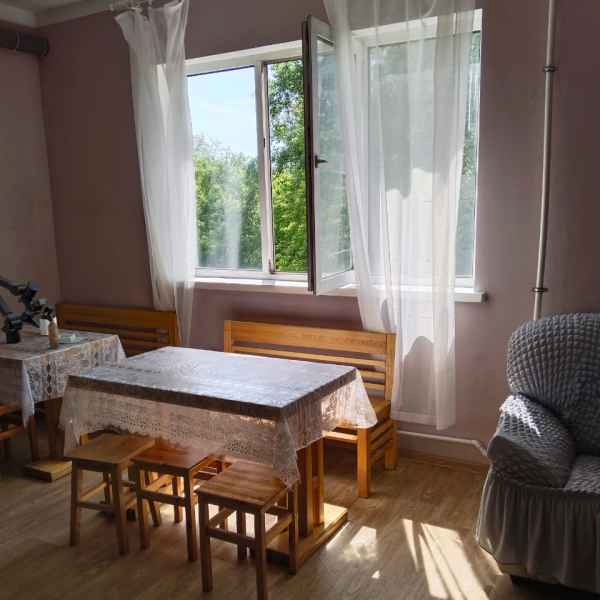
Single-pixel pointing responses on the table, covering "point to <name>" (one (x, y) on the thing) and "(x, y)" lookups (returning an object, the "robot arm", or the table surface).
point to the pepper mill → (53, 335)
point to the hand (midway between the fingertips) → (46, 325)
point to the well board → (68, 338)
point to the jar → (45, 324)
